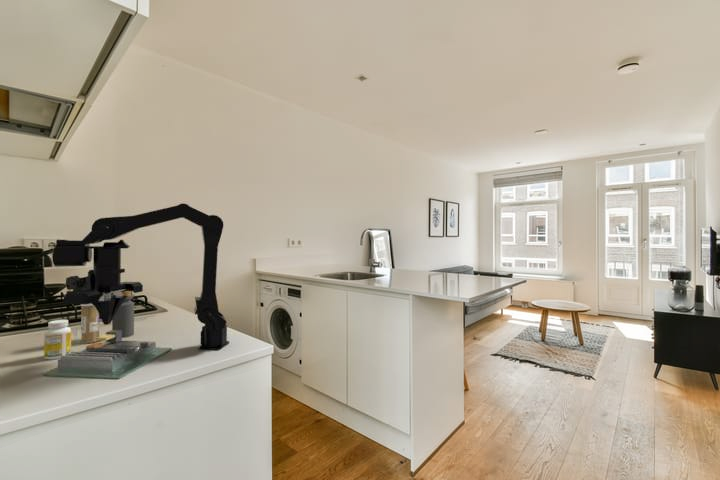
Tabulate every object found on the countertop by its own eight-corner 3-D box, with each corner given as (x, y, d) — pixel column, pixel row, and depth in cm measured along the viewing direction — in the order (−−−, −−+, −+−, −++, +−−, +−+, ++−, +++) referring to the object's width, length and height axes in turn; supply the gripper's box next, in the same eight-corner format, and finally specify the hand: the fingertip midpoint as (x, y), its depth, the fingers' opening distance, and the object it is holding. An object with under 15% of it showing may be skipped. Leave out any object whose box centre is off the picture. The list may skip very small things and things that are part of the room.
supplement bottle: (51, 361, 85) (51, 325, 85) (39, 358, 87) (39, 322, 87) (75, 354, 90) (75, 320, 90) (63, 351, 92) (64, 318, 92)
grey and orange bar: (143, 348, 87) (143, 344, 87) (134, 353, 83) (134, 348, 83) (96, 346, 87) (96, 342, 87) (85, 350, 84) (85, 346, 84)
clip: (121, 340, 93) (121, 330, 93) (106, 346, 88) (106, 335, 88) (111, 339, 93) (111, 330, 93) (96, 345, 88) (96, 335, 88)
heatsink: (171, 350, 94) (171, 334, 94) (119, 378, 75) (119, 359, 75) (110, 347, 96) (110, 332, 96) (43, 375, 77) (43, 356, 77)
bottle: (108, 336, 106) (108, 291, 106) (126, 331, 111) (126, 288, 111) (119, 339, 104) (119, 292, 103) (138, 334, 109) (138, 289, 109)
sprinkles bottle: (98, 342, 100) (98, 299, 100) (79, 345, 98) (79, 300, 97) (100, 338, 104) (100, 296, 104) (81, 340, 101) (82, 298, 101)
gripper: (108, 262, 95) (107, 314, 95) (41, 268, 76) (41, 333, 77) (144, 262, 94) (143, 316, 95) (86, 269, 76) (85, 335, 76)
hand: (106, 324), depth 85 cm, fingers closed
